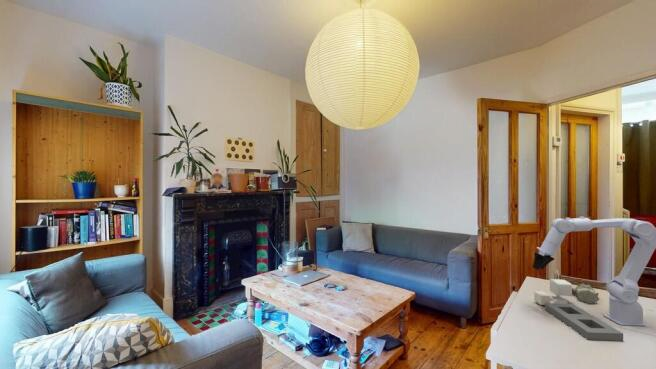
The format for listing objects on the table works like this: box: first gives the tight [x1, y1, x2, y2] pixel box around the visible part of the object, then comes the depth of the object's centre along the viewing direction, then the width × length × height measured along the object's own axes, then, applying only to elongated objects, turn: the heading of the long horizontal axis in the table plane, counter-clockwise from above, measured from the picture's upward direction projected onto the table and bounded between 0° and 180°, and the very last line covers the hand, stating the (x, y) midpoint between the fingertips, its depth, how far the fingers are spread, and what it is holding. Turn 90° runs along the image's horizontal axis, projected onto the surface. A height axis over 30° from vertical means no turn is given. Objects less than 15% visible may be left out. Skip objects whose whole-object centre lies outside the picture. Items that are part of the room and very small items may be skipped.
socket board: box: [544, 302, 624, 342], centre depth 114 cm, size 12×24×3 cm, turn 174°
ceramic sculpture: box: [572, 282, 599, 304], centre depth 136 cm, size 11×9×15 cm
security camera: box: [549, 278, 573, 304], centre depth 134 cm, size 6×7×10 cm
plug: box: [533, 290, 551, 306], centre depth 131 cm, size 4×5×6 cm
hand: (537, 268), depth 126 cm, fingers open, 7 cm apart
